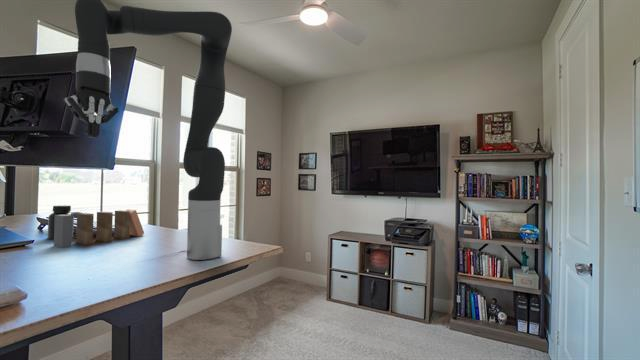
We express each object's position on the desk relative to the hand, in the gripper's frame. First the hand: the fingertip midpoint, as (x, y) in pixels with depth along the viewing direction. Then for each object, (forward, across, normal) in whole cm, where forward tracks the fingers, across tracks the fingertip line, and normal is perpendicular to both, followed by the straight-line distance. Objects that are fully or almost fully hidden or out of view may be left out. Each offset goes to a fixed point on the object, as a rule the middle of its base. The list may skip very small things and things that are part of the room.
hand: (92, 137), depth 80 cm
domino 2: (+33, -16, -22) cm, 43 cm away
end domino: (+33, -4, -22) cm, 40 cm away
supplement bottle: (+33, -9, -36) cm, 50 cm away
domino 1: (+33, -10, -22) cm, 41 cm away
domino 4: (+33, -28, -22) cm, 48 cm away
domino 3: (+33, -22, -22) cm, 45 cm away
